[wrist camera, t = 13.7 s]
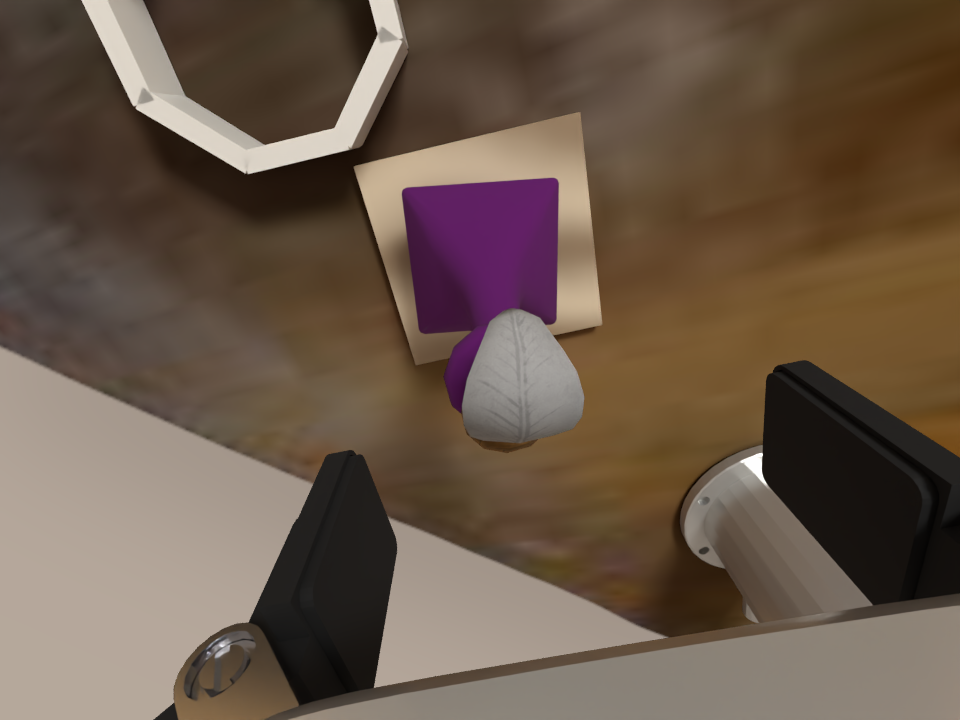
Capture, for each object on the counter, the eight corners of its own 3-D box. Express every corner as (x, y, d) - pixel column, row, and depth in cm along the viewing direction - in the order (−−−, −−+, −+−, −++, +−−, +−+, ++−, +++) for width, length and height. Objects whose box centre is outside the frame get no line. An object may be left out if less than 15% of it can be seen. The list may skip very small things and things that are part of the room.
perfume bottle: (545, 303, 28) (668, 536, 12) (422, 312, 28) (381, 559, 12) (546, 171, 25) (717, 250, 9) (407, 181, 25) (320, 278, 9)
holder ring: (428, 130, 24) (425, 131, 22) (204, 185, 25) (174, 191, 22) (349, -201, 19) (331, -256, 16) (64, -122, 20) (3, -161, 17)
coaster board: (598, 320, 30) (602, 324, 29) (416, 359, 30) (415, 365, 30) (576, 112, 24) (580, 112, 24) (356, 165, 25) (353, 166, 24)
